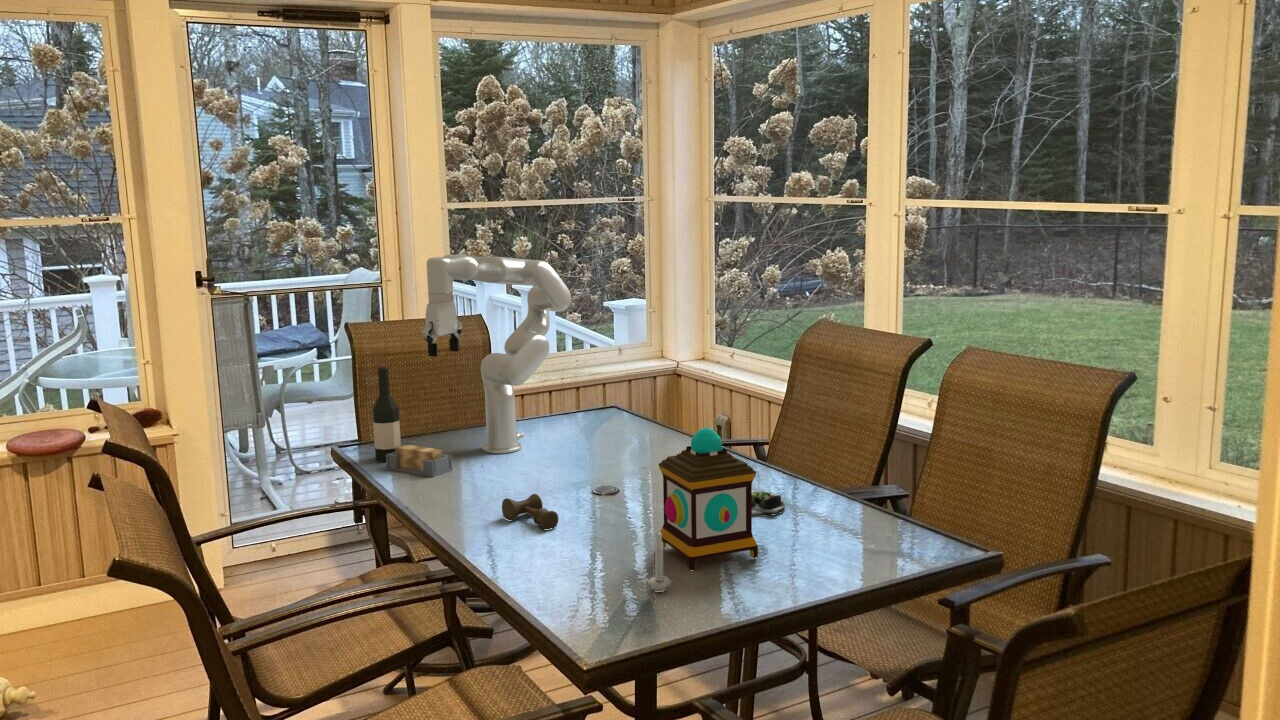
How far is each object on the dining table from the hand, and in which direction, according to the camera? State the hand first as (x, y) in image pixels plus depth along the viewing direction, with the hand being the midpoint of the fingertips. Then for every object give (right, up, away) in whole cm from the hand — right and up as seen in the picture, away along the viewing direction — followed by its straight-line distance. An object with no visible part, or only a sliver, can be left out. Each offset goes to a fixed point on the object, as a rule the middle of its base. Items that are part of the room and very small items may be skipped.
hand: (443, 353), depth 317 cm
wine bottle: (-20, -34, +11) cm, 40 cm away
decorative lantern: (+76, -47, -78) cm, 119 cm away
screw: (+64, -51, -99) cm, 129 cm away
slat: (-7, -35, -2) cm, 36 cm away
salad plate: (+90, -41, -44) cm, 109 cm away
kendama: (+32, -44, -52) cm, 75 cm away
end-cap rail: (-7, -35, -2) cm, 36 cm away
